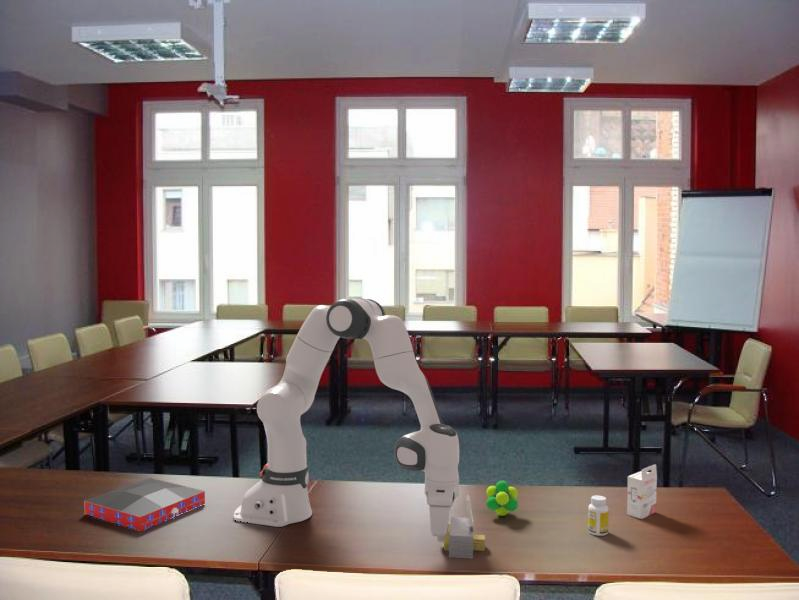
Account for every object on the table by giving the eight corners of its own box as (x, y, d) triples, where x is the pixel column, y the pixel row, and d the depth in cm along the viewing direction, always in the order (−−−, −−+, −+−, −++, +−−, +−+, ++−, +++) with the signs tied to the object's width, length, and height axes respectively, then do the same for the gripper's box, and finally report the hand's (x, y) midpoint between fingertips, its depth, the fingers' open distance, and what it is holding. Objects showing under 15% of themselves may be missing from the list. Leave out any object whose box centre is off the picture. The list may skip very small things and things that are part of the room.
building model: (143, 534, 193) (142, 511, 193) (83, 516, 206) (83, 494, 205) (207, 507, 214) (207, 485, 213) (150, 492, 226) (149, 472, 226)
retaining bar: (469, 529, 183) (465, 500, 182) (470, 523, 186) (465, 495, 186) (473, 529, 182) (468, 500, 182) (473, 523, 186) (469, 495, 186)
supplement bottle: (608, 530, 197) (609, 495, 197) (607, 537, 192) (608, 502, 192) (588, 527, 199) (589, 493, 198) (586, 534, 194) (587, 499, 193)
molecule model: (501, 498, 214) (483, 486, 211) (520, 488, 210) (502, 476, 207) (501, 520, 208) (483, 508, 205) (520, 510, 204) (502, 498, 201)
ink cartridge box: (641, 508, 215) (642, 460, 213) (656, 512, 211) (658, 464, 210) (625, 514, 209) (627, 465, 208) (641, 519, 205) (642, 469, 204)
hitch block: (448, 557, 179) (449, 535, 179) (451, 537, 192) (451, 516, 191) (472, 558, 179) (473, 536, 178) (473, 538, 191) (473, 517, 191)
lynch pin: (443, 550, 183) (444, 531, 183) (444, 542, 188) (445, 524, 188) (484, 552, 182) (485, 533, 182) (484, 544, 187) (485, 526, 187)
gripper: (432, 474, 195) (431, 523, 196) (426, 500, 175) (425, 555, 176) (455, 475, 194) (454, 524, 196) (452, 502, 174) (451, 556, 175)
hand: (440, 539), depth 186 cm, fingers closed
